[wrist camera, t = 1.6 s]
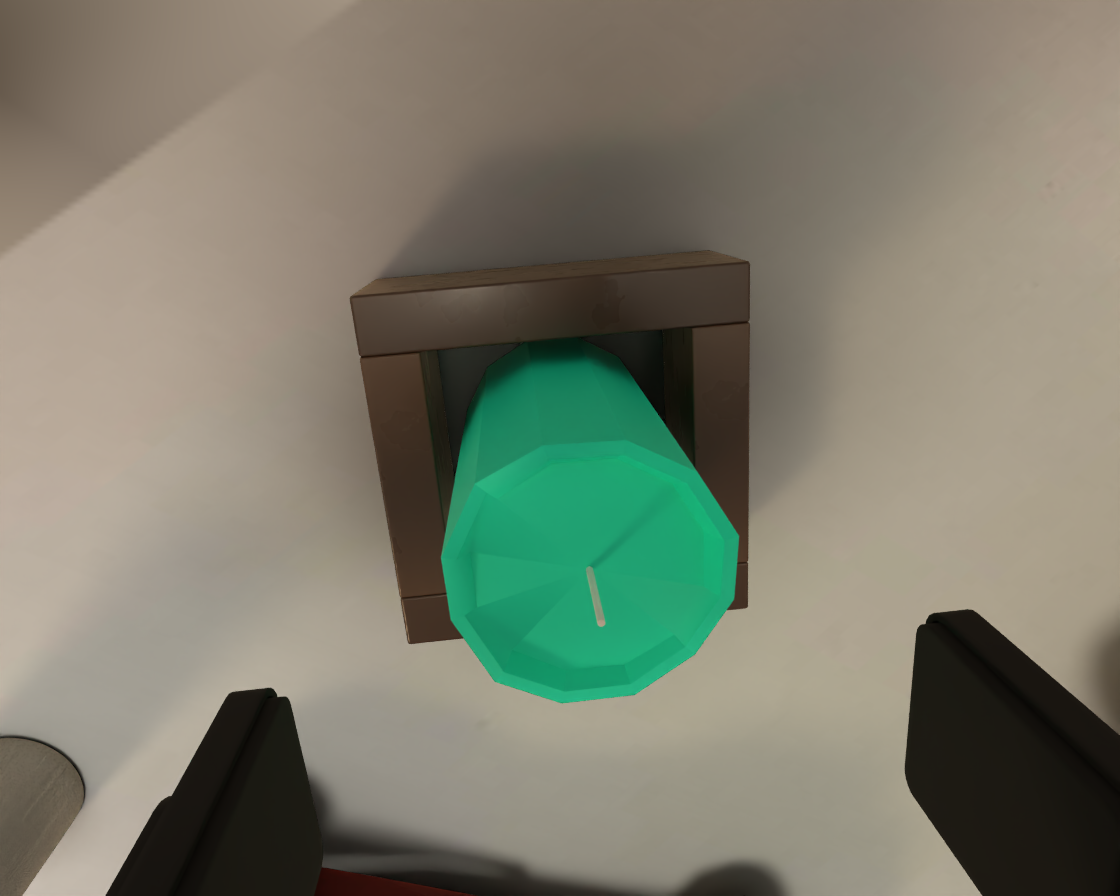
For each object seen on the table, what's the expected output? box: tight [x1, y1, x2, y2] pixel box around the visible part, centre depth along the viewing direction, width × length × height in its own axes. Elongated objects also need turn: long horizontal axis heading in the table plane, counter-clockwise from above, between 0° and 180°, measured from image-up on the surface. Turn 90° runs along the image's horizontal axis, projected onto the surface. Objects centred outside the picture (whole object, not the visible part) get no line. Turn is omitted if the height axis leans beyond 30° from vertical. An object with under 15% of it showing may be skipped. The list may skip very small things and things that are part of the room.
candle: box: [441, 337, 739, 703], centre depth 19 cm, size 6×6×12 cm
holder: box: [350, 250, 750, 644], centre depth 23 cm, size 10×10×4 cm
